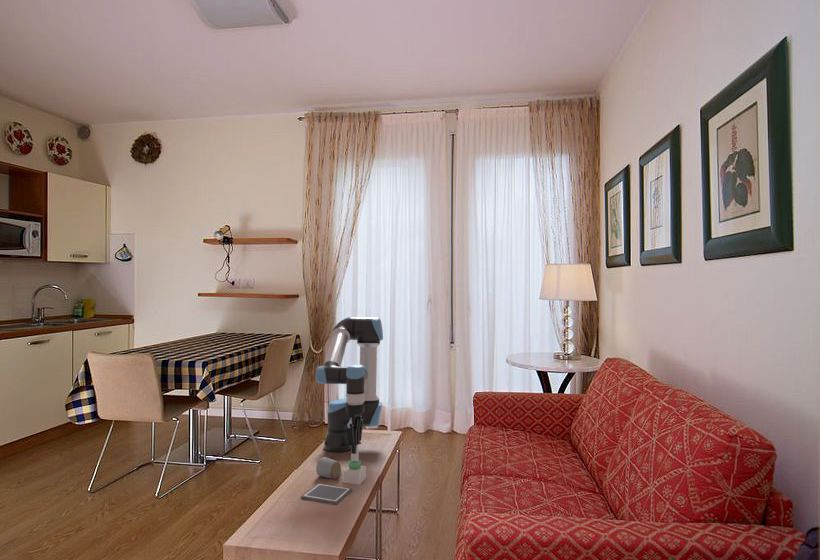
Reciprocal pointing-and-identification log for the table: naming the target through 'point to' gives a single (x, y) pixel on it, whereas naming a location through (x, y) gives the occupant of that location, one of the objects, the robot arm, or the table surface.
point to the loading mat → (327, 493)
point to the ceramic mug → (328, 468)
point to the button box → (354, 475)
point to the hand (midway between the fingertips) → (354, 460)
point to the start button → (354, 464)
